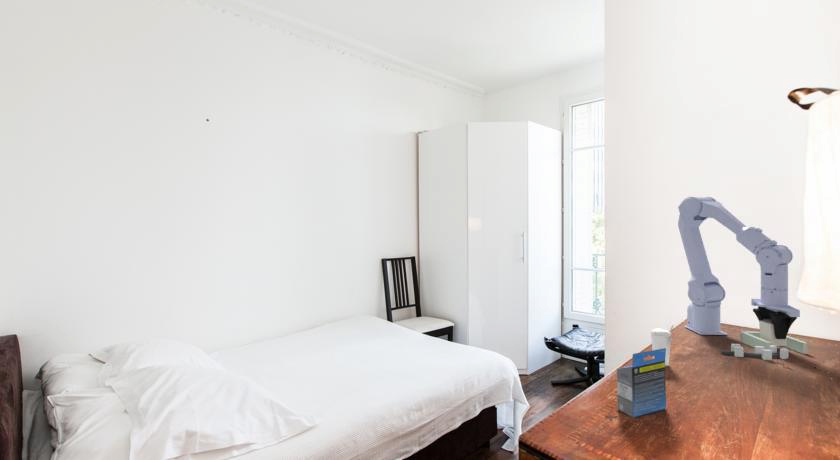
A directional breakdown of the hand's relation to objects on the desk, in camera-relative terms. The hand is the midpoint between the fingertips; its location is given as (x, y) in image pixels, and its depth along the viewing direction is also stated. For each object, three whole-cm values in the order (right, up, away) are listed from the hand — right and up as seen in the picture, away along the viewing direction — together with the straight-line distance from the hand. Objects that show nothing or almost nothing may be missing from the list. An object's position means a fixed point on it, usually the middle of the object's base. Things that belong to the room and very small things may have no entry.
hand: (773, 336), depth 111 cm
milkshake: (-38, -5, -10) cm, 39 cm away
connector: (0, -2, 0) cm, 2 cm away
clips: (-9, -4, -5) cm, 11 cm away
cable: (-9, -4, -5) cm, 11 cm away
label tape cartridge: (-56, -6, -33) cm, 66 cm away
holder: (0, -3, +1) cm, 3 cm away
